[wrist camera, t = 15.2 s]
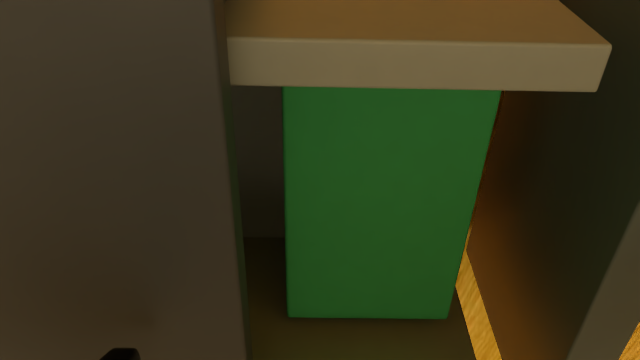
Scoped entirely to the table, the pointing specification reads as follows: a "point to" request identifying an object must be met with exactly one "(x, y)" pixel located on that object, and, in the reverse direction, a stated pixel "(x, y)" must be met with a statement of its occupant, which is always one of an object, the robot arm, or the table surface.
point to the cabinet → (119, 182)
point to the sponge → (379, 197)
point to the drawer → (500, 176)
